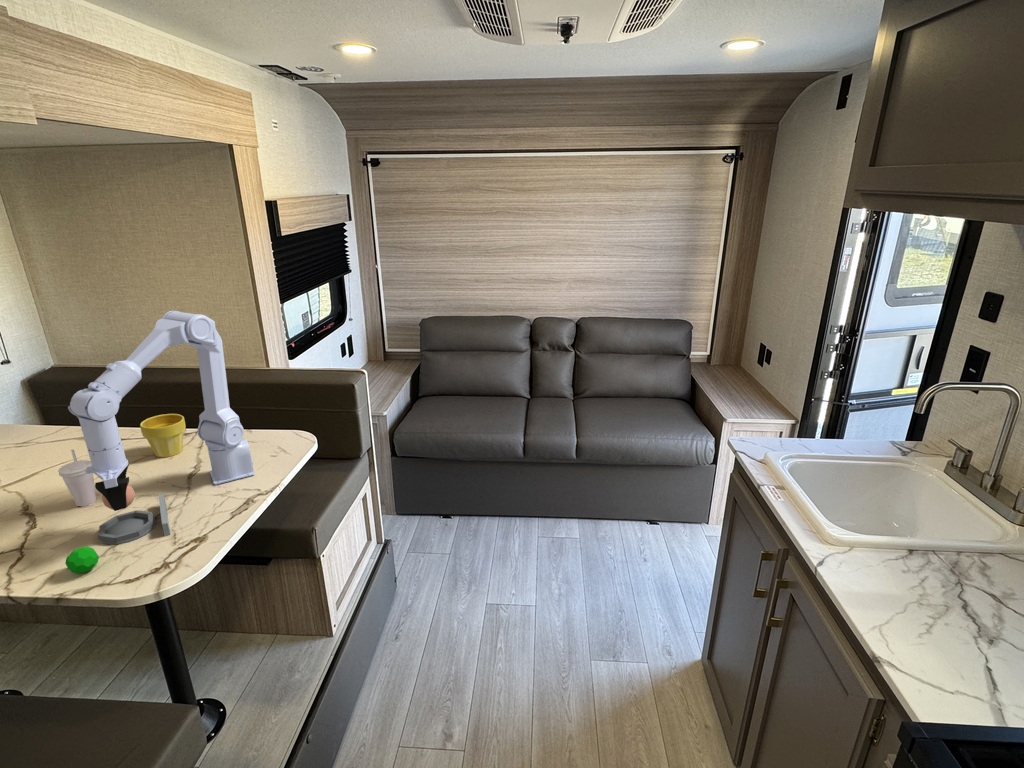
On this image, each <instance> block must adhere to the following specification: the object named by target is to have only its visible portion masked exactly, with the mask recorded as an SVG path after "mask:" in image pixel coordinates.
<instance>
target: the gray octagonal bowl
mask: <svg viewBox="0 0 1024 768" xmlns="http://www.w3.org/2000/svg"><path fill="white" fill-rule="evenodd" d="M156 525H157V520H156V518H155V516H154V514H153V512H151V511H146V510H140V509H139V510H137V509H136V510H132V511H128V512H125V513H121V514H118V515H117V514H116V515H115V516H114V515H113V517H112V518H110V519H108V520H107V521H105V522H104V523H102V524H101V525H99V527H98V528H99V529H98V540H99V542H100V543H102V544H104V545H108V546H109V545H111V546H112V545H113V546H114V545H121V544H126V543H130V542H132V541H136V540H138V539H140V538H143V537H144V536H146V535H147V534H149V533H150V532H151V531H152V530H153V529H154V528H155V526H156Z"/></svg>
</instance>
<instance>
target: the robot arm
mask: <svg viewBox="0 0 1024 768" xmlns="http://www.w3.org/2000/svg"><path fill="white" fill-rule="evenodd" d="M222 339H223V338H222V337H221V335H220V334H219V332H218V331H217V328H216V321H214V320H213V319H211V318H210V317H208V316H207V315H205V314H201V313H200V314H195V313H188V312H183V311H178V310H170V311H167V312H165V314H163V316H162V317H161V318H159V319H158V320H157V321H156V322H155V325H154V328H153V329H152V331H150V333H149V334H148V335H147V336H146V337H145V338H144V340H143V341H141V343H140V344H139V345H138V346H137V347H136V348H135V349H134V350H133V351H132V352H131V354H130V355H129V356H128V357H127V358H126V359H125V360H116V361H114V362H113V363H111V362H109V363H108V364H107V365H106V367H105V369H106V370H104V371H103V372H102V374H101V375H100V376H98V377H97V378H96V379H95V380H94V381H92V382H89V384H88V385H87V387H88V388H83V389H80V390H78V391H76V393H74V394H73V396H72V397H71V399H70V402H69V406H67V409H68V411H69V412H70V413H71V415H74V416H76V418H77V419H78V421H79V425H80V427H81V431H82V432H81V433H82V435H83V436H82V437H83V439H84V442H85V446H86V449H87V453H88V455H89V461H91V463H92V466H90V467H87V468H86V473H87V474H90V473H93V475H95V476H96V477H98V478H100V479H101V480H102V481H99V482H98V481H97V482H94V486H95V491H97V492H99V493H100V494H101V495H102V496H104V497H105V498H106V499H107V501H108V502H109V504H110V505H111V507H112V509H111V510H113V511H115V512H116V511H121V510H125V509H127V507H126V505H127V500H126V489H127V486H128V485H129V482H130V477H129V476H128V477H127V471H128V468H129V465H130V463H129V460H128V459H127V458H126V452H125V450H124V446H123V443H122V439H121V435H120V430H119V428H118V423H117V419H116V416H115V415H117V413H118V412H119V409H120V403H121V402H122V399H123V398H124V397H125V396H126V395H127V394H128V393H129V392H130V391H131V390H132V389H133V388H134V387H136V385H137V384H138V383H139V382H140V381H141V380H142V371H143V369H145V368H146V367H147V366H148V365H149V364H151V363H152V362H153V361H154V360H155V359H156V358H157V357H158V356H159V355H160V354H162V353H163V352H165V350H167V349H168V348H169V347H171V346H176V345H178V346H179V345H184V344H186V345H187V344H188V345H189V346H192V347H193V348H195V349H196V352H197V359H198V360H197V361H198V367H199V374H200V382H201V383H200V384H201V390H202V397H203V404H204V406H203V407H204V411H202V412H201V413H200V414H199V416H198V418H199V423H198V427H197V436H198V438H199V439H201V440H202V441H203V442H205V443H204V444H205V445H206V446H207V447H206V448H207V451H208V457H209V461H210V462H209V463H210V467H211V470H210V471H209V473H210V477H211V480H212V484H213V485H215V486H216V485H220V484H224V483H229V482H232V481H236V480H240V479H243V478H248V477H253V476H254V475H255V472H254V463H253V461H254V460H253V458H252V453H251V450H250V445H249V443H248V439H247V438H244V435H245V430H244V427H243V425H242V423H241V422H240V421H241V420H240V417H239V415H238V414H237V413H236V412H235V411H234V410H233V409H232V408H231V407H230V399H229V389H228V380H227V371H226V364H225V356H224V355H225V354H224V347H223V346H224V345H223V340H222Z"/></svg>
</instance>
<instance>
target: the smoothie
mask: <svg viewBox="0 0 1024 768" xmlns="http://www.w3.org/2000/svg"><path fill="white" fill-rule="evenodd" d="M70 452H71V455H72V458H73V462H69V463H67V464H66V463H65V464H64V465H62V466H60V468H59V469H58V470H57V471H58V475H59V476H60V477H62V479H63V481H64V484H65V485H66V487H67V489H68V491H69V493H70V496H71V497H72V499H73V501H74V503H75V505H76V507H78V506H85V507H88V506H91V505H93V504H94V503H96V502H97V497H96V496H97V495H96V488H95V479H94V473H90V474H87V473H86V468H87V467H90V466H92V463H91V460H87V459H83V460H78V459H77V454H76V451H75V449H71V450H70ZM95 501H96V502H95ZM92 503H93V504H92ZM90 504H91V505H90ZM87 505H88V506H87Z"/></svg>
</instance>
